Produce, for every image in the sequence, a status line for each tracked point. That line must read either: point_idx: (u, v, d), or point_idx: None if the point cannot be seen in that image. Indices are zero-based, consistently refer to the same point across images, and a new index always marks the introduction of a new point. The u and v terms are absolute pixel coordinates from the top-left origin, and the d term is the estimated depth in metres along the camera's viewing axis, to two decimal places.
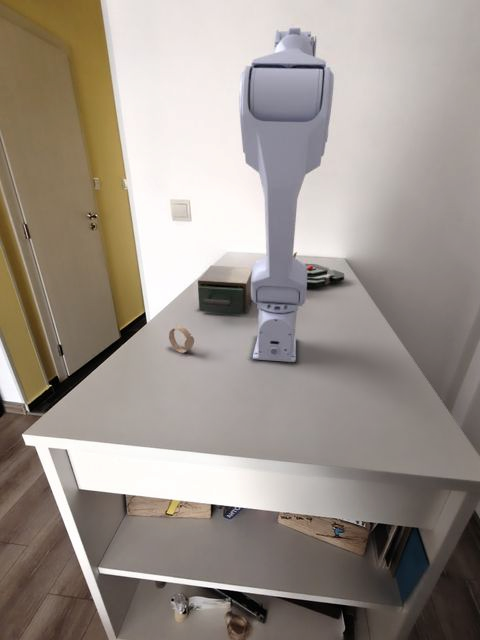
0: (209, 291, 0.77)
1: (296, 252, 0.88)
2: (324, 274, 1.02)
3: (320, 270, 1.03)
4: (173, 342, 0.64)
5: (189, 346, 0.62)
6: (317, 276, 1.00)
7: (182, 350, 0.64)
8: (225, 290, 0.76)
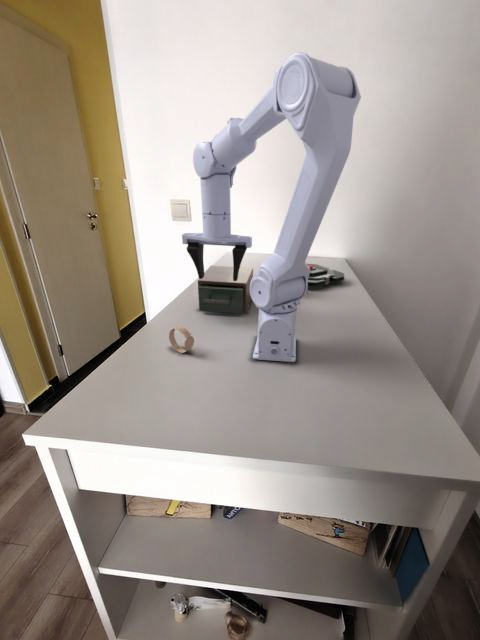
0: (209, 291, 0.77)
1: None
2: (324, 274, 1.02)
3: (320, 270, 1.03)
4: (173, 342, 0.64)
5: (189, 346, 0.62)
6: (317, 276, 1.00)
7: (182, 350, 0.64)
8: (225, 290, 0.76)
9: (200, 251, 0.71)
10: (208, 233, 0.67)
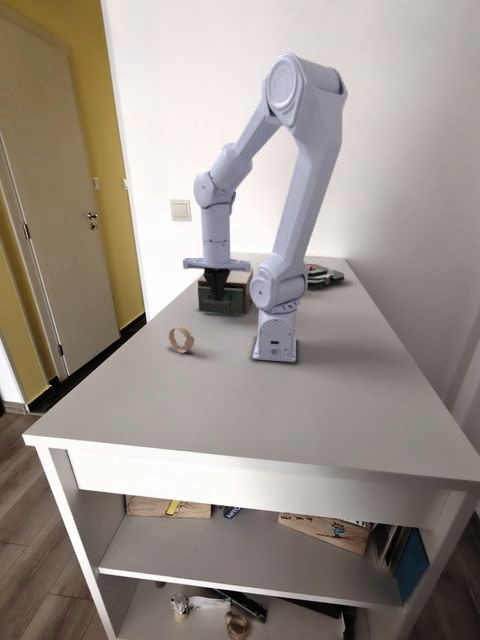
0: (208, 291, 0.77)
1: None
2: (324, 274, 1.02)
3: (320, 270, 1.03)
4: (173, 342, 0.64)
5: (189, 346, 0.62)
6: (317, 276, 1.00)
7: (182, 350, 0.64)
8: (225, 290, 0.76)
9: None
10: (208, 259, 0.69)
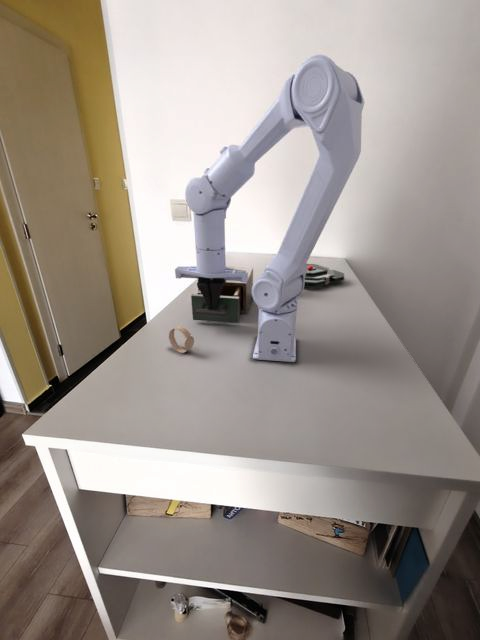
0: (203, 299, 0.72)
1: None
2: (324, 274, 1.02)
3: (320, 270, 1.03)
4: (173, 342, 0.64)
5: (189, 346, 0.62)
6: (317, 276, 1.00)
7: (182, 350, 0.64)
8: (220, 299, 0.72)
9: None
10: (202, 268, 0.64)
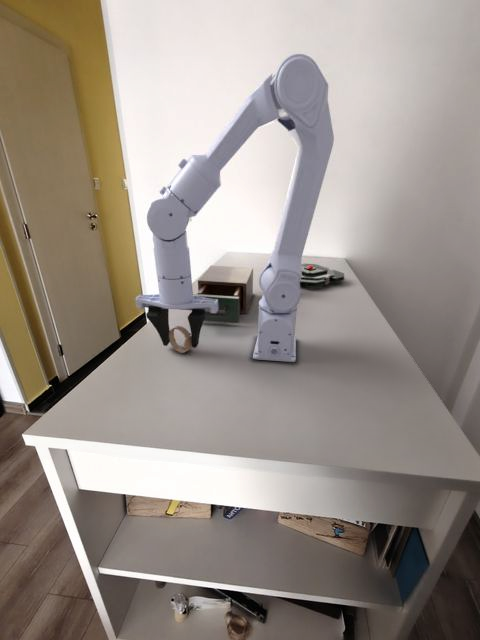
0: None
1: None
2: (324, 274, 1.02)
3: (320, 270, 1.03)
4: (173, 342, 0.64)
5: (189, 346, 0.62)
6: (317, 276, 1.00)
7: (182, 350, 0.64)
8: (220, 299, 0.72)
9: (163, 316, 0.61)
10: (164, 299, 0.57)
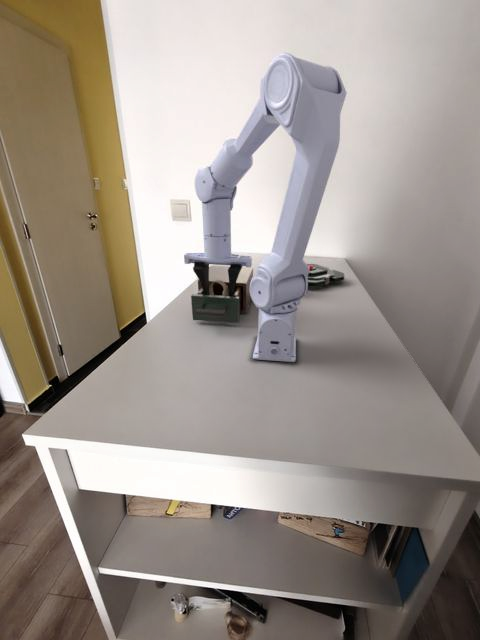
0: (203, 299, 0.72)
1: None
2: (324, 274, 1.02)
3: (320, 270, 1.03)
4: (212, 294, 0.77)
5: None
6: (317, 276, 1.00)
7: None
8: (220, 299, 0.72)
9: (206, 270, 0.73)
10: (209, 254, 0.69)
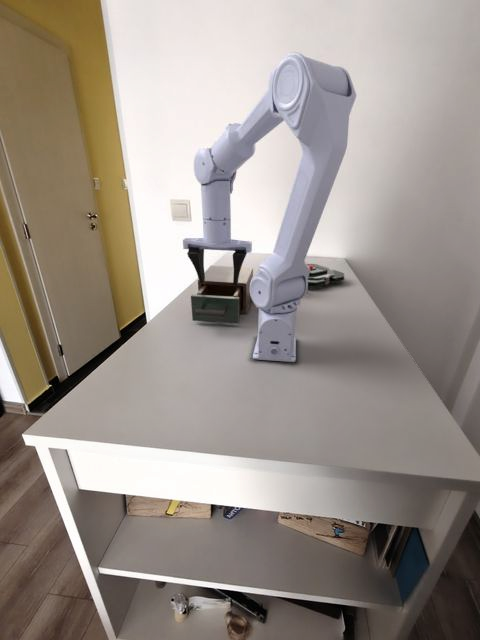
0: (202, 300, 0.72)
1: None
2: (324, 274, 1.02)
3: (320, 270, 1.03)
4: None
5: None
6: (317, 276, 1.00)
7: None
8: (220, 299, 0.71)
9: (201, 256, 0.72)
10: (208, 238, 0.68)
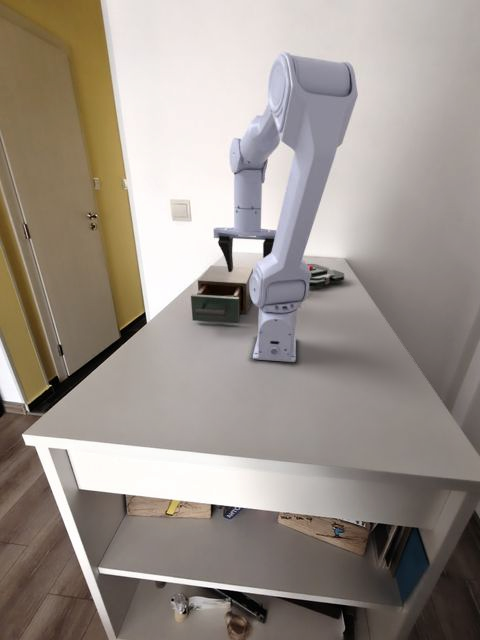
0: (202, 300, 0.72)
1: None
2: (324, 274, 1.02)
3: (320, 270, 1.03)
4: None
5: None
6: (317, 276, 1.00)
7: None
8: (220, 299, 0.71)
9: (230, 245, 0.73)
10: (240, 227, 0.69)
